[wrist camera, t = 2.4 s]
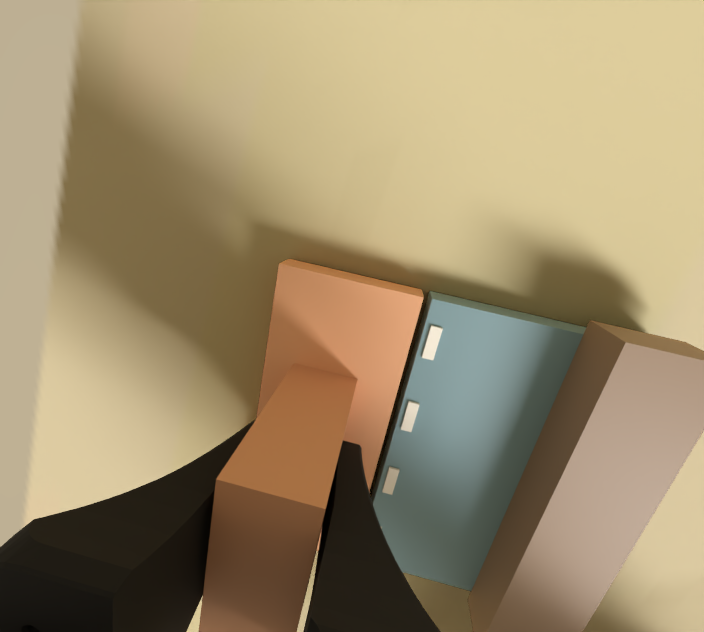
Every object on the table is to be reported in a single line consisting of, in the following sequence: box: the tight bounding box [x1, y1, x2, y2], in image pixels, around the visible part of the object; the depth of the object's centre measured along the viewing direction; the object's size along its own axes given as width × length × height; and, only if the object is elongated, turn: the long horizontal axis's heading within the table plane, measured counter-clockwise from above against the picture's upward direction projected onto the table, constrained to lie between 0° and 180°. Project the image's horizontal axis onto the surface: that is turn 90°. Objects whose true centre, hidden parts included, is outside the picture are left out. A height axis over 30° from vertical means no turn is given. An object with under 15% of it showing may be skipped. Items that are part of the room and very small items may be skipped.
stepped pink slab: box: [199, 259, 424, 632], centre depth 12 cm, size 5×12×7 cm, turn 168°
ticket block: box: [371, 291, 704, 632], centre depth 14 cm, size 8×13×3 cm, turn 168°
